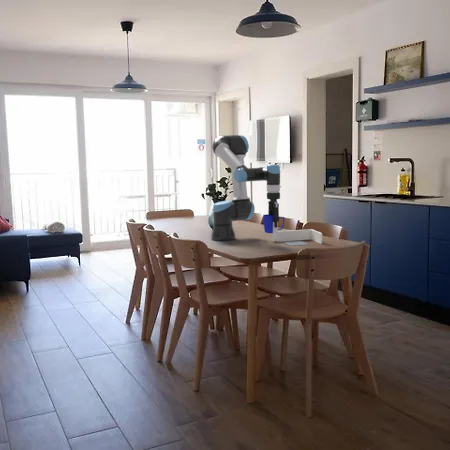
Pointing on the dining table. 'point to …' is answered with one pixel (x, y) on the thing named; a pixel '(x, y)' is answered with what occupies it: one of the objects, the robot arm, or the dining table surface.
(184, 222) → the dining table surface
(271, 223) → the mug
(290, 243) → the mat
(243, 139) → the robot arm
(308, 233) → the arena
